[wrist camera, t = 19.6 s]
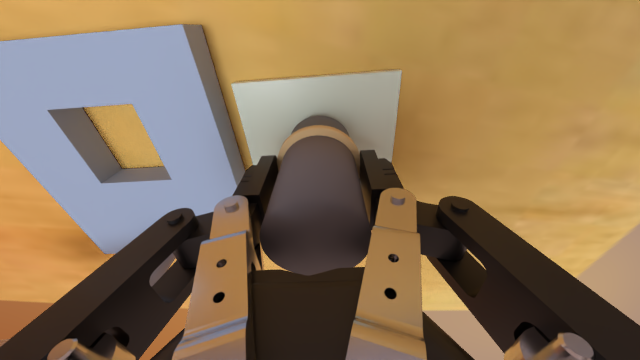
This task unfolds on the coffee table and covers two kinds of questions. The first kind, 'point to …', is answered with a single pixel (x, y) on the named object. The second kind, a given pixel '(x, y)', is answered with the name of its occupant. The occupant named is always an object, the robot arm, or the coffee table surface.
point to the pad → (320, 108)
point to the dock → (153, 110)
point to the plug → (317, 201)
